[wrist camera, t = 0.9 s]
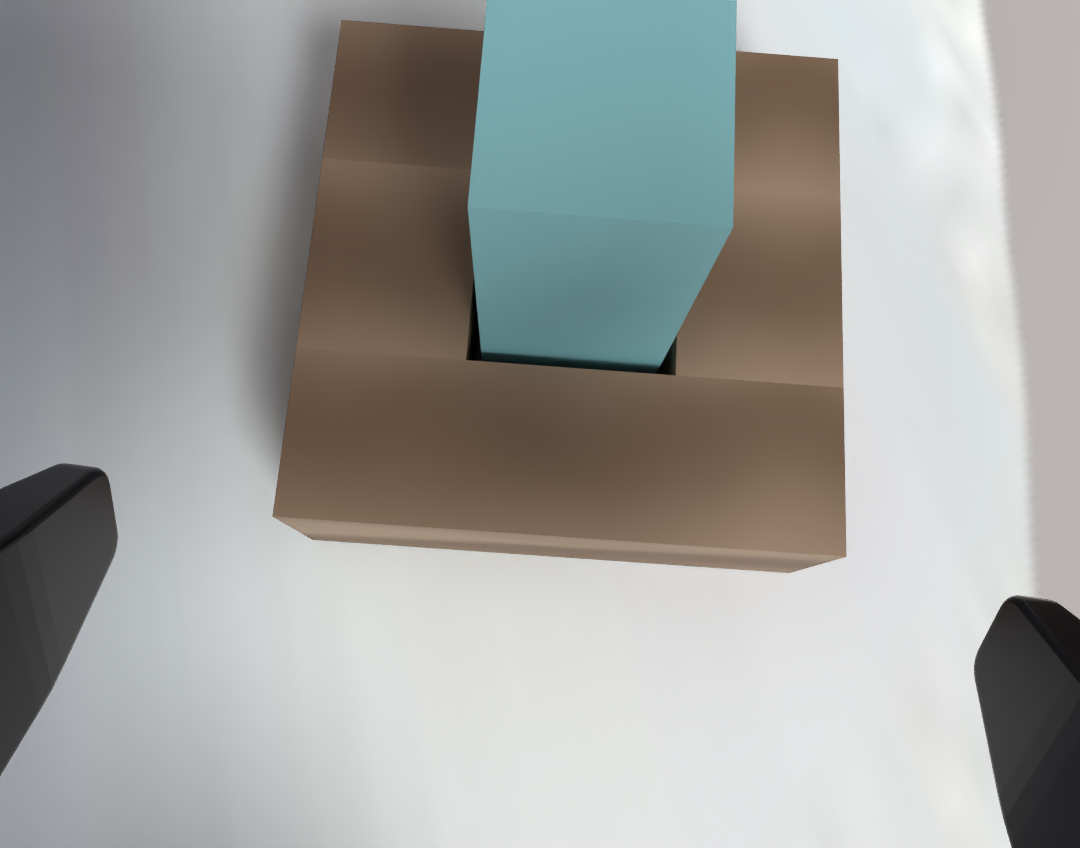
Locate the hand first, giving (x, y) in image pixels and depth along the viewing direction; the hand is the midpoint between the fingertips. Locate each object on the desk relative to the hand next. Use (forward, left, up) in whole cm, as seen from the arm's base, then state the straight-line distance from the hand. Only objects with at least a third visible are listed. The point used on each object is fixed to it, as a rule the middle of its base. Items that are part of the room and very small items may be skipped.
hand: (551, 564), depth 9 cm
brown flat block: (+8, -1, -14) cm, 16 cm away
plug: (+8, -1, -13) cm, 15 cm away
